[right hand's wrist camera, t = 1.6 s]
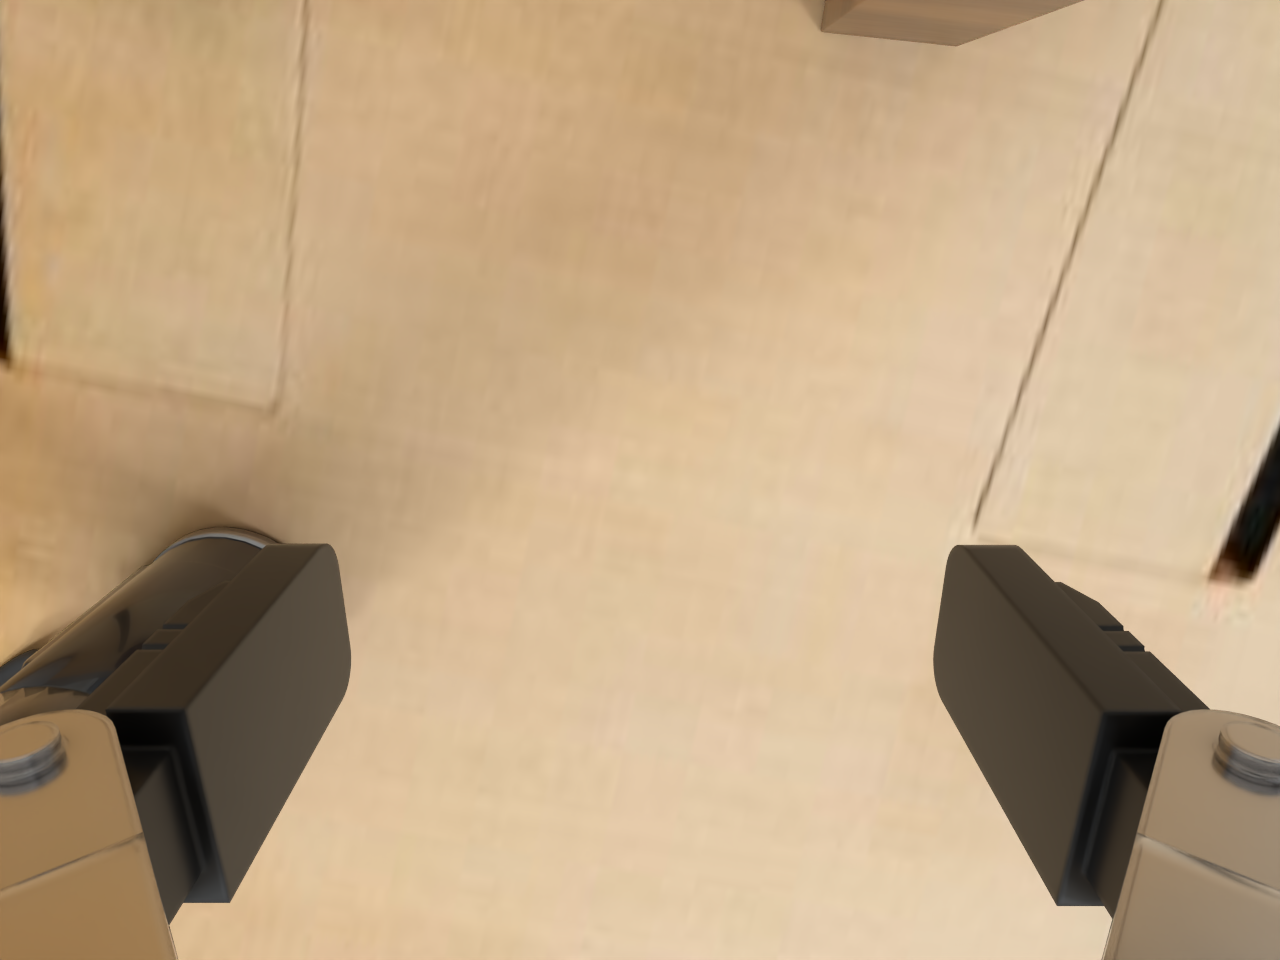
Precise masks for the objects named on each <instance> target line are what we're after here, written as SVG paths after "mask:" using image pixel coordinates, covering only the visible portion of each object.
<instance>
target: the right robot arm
mask: <svg viewBox="0 0 1280 960" xmlns="http://www.w3.org/2000/svg"><path fill="white" fill-rule="evenodd" d="M933 663H934V675H935V681H936V686H937V690H938V693H939V695H940V698H941V700H942V702H943V704H944V705H945V707H946V709H947V711H948V713H949V714H950V716H951V718H952V720H953V721H954V723H955V725H956V727H957V729H958V730H959V732H960V734H961V736H962V737H963V739H964V741H965V743H966V745H967V746H968V748H969V750H970V752H971V753H972V755H973V757H974V759H975V761H976V762H977V764H978V766H979V768H980V770H981V771H982V773H983V775H984V777H985V778H986V780H987V782H988V784H989V786H990V787H991V789H992V791H993V793H994V794H995V796H996V798H997V800H998V802H999V803H1000V805H1001V807H1002V809H1003V810H1004V812H1005V814H1006V816H1007V818H1008V819H1009V821H1010V823H1011V825H1012V827H1013V828H1014V830H1015V832H1016V834H1017V835H1018V837H1019V839H1020V841H1021V843H1022V844H1023V846H1024V848H1025V850H1026V851H1027V853H1028V855H1029V857H1030V859H1031V860H1032V862H1033V864H1034V866H1035V867H1036V869H1037V871H1038V873H1039V875H1040V876H1041V878H1042V880H1043V882H1044V884H1045V885H1046V887H1047V889H1048V891H1049V892H1050V894H1051V896H1052V898H1053V900H1054V901H1055V903H1056V905H1057V906H1105V908H1106V909H1107V911H1108V913H1109V914H1110V916H1111V917H1112V923H1111V927H1110V930H1109V934H1108V938H1107V941H1106V945H1105V949H1104V953H1103V956H1102V960H1280V726H1278V725H1276V724H1273V723H1270V722H1267V721H1264V720H1262V719H1259V718H1255V717H1251V716H1248V715H1244V714H1239V713H1234V712H1229V711H1221V710H1210V709H1209V708H1208V707H1207V706H1206V705H1205V704H1204V703H1203V702H1202V701H1201V700H1200V699H1199V698H1198V697H1197V696H1196V695H1195V694H1194V693H1193V692H1192V691H1190V690H1189V689H1188V688H1187V687H1186V686H1185V685H1184V684H1183V683H1182V682H1181V681H1180V680H1179V679H1178V678H1177V677H1176V676H1175V675H1174V674H1173V673H1172V672H1171V671H1170V670H1169V669H1167V668H1166V667H1165V666H1164V665H1163V664H1162V663H1161V662H1160V661H1159V660H1158V659H1157V658H1156V657H1155V656H1154V655H1153V654H1152V653H1151V652H1145V650H1144V646H1143V645H1142V644H1141V643H1140V642H1139V641H1138V640H1137V639H1136V638H1135V637H1134V636H1133V635H1132V634H1131V633H1130V632H1129V631H1124V630H1123V625H1122V624H1121V623H1119V622H1118V621H1117V620H1116V619H1115V618H1114V617H1113V616H1112V615H1111V614H1110V613H1109V612H1108V611H1107V610H1106V609H1105V608H1104V607H1103V606H1102V605H1101V604H1100V603H1099V602H1097V601H1095V600H1093V599H1091V598H1089V597H1088V596H1086V595H1084V594H1082V593H1080V592H1078V591H1076V590H1075V589H1073V588H1071V587H1069V586H1067V585H1065V584H1063V583H1062V582H1054V581H1053V580H1052V579H1051V578H1050V577H1049V576H1048V575H1047V574H1046V573H1045V572H1044V571H1043V570H1042V569H1041V568H1040V567H1039V566H1038V565H1037V564H1036V563H1035V562H1034V561H1033V560H1032V559H1031V558H1030V557H1029V556H1028V555H1027V554H1026V553H1025V552H1024V551H1023V550H1022V549H1021V548H1020V547H1019V546H1017V545H956V546H955V547H954V548H953V549H952V550H951V552H950V554H949V557H948V560H947V565H946V571H945V578H944V584H943V591H942V598H941V605H940V612H939V618H938V625H937V632H936V639H935V646H934V657H933ZM350 669H351V649H350V641H349V634H348V627H347V620H346V613H345V607H344V600H343V593H342V586H341V579H340V572H339V565H338V560H337V556H336V554H335V551H334V549H333V548H332V547H331V546H330V545H329V544H278V543H277V542H275V541H273V540H271V539H269V538H267V537H265V536H263V535H260V534H258V533H255V532H252V531H248V530H244V529H238V528H230V527H215V528H207V529H202V530H198V531H195V532H192V533H190V534H187V535H185V536H183V537H182V538H180V539H178V540H177V541H175V542H174V543H173V544H172V545H170V546H169V547H168V548H167V549H165V550H164V551H163V552H162V553H161V554H160V555H159V556H158V557H157V558H156V559H155V560H154V561H153V563H152V564H150V565H147V566H143V567H141V568H140V569H138V570H137V571H136V572H135V573H133V574H132V575H131V576H130V577H129V578H127V579H126V580H125V581H124V582H122V583H121V584H120V585H119V586H117V587H116V588H115V589H114V590H112V591H111V592H110V593H109V594H107V595H106V596H105V597H104V598H103V599H101V600H100V601H99V602H98V603H96V604H95V605H94V606H93V607H91V608H90V609H89V610H88V611H86V612H85V613H84V614H83V615H81V616H80V617H79V618H78V619H77V620H75V621H74V622H73V623H72V624H70V625H69V626H68V627H67V628H65V629H64V630H63V631H62V632H60V633H59V634H58V635H57V636H55V637H54V638H53V639H52V640H51V641H49V642H48V643H47V644H46V645H44V646H43V647H42V648H41V649H39V650H36V649H34V650H30V651H28V652H25V653H23V654H21V655H19V656H17V657H15V658H13V659H12V660H10V661H9V662H7V663H6V664H4V665H3V666H2V667H0V960H178V956H177V953H176V949H175V945H174V941H173V938H172V934H171V930H170V927H169V925H170V923H171V921H172V920H173V918H174V916H175V915H176V913H177V912H178V910H179V908H180V907H181V905H182V904H183V903H230V901H231V900H232V898H233V896H234V894H235V892H236V891H237V889H238V887H239V885H240V883H241V882H242V880H243V878H244V876H245V874H246V873H247V871H248V869H249V867H250V865H251V864H252V862H253V860H254V858H255V856H256V854H257V853H258V851H259V849H260V847H261V845H262V844H263V842H264V840H265V838H266V836H267V835H268V833H269V831H270V829H271V827H272V826H273V824H274V822H275V820H276V818H277V817H278V815H279V813H280V811H281V809H282V808H283V806H284V804H285V802H286V800H287V799H288V797H289V795H290V793H291V791H292V790H293V788H294V786H295V784H296V782H297V781H298V779H299V777H300V775H301V773H302V772H303V770H304V768H305V766H306V764H307V763H308V761H309V759H310V757H311V755H312V754H313V752H314V750H315V748H316V746H317V745H318V743H319V741H320V739H321V737H322V735H323V734H324V732H325V730H326V728H327V726H328V725H329V723H330V721H331V719H332V717H333V716H334V714H335V712H336V710H337V708H338V707H339V705H340V703H341V701H342V699H343V697H344V695H345V693H346V690H347V686H348V682H349V677H350Z"/></svg>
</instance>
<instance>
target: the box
mask: <svg viewBox="0 0 1280 960" xmlns="http://www.w3.org/2000/svg"><path fill="white" fill-rule="evenodd" d="M1081 1H1083V0H825V6H824V13H823V19H822V26H821V31H822V32H828V33H837V34H846V35H856V36H865V37H874V38H884V39H893V40H903V41H912V42H921V43H931V44H940V45H950V46H959V45H961V44H964V43H967V42H970V41H973V40H975V39H978V38H981V37H984V36H986V35H989V34H992V33H995V32H997V31H1000V30H1003V29H1006V28H1009V27H1011V26H1014V25H1017V24H1020V23H1022V22H1025V21H1028V20H1031V19H1033V18H1036V17H1039V16H1042V15H1045V14H1047V13H1050V12H1053V11H1056V10H1058V9H1061V8H1064V7H1067V6H1069V5H1072V4H1075V3H1078V2H1081Z"/></svg>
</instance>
